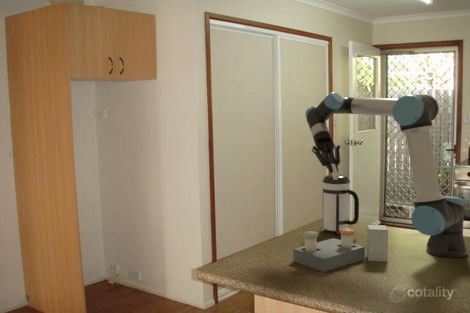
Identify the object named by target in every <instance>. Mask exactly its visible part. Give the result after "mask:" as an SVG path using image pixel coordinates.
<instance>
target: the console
mask: <svg viewBox="0 0 470 313" xmlns="http://www.w3.org/2000/svg"><path fill="white" fill-rule="evenodd" d="M365 250H366V248H365V246H363V245H359V244H356V243H353V248H351V249H345V248H342V247H341V239H337V238H334V237H333V238H329V239H325V240H321V241H317V251H316V252H312V253H310V252H307V251H305V245H301V246H299V247H296V248H293V251H292V252H293V253H292V254H293V256H292V258H293V260H292V261H293V262H294V263H297V264H300V265H304V266H306V267H308V268H311V269H314V270H316V271H320V272H322V273H326V272H328V271H329V272H330V271H332V270H336V269H338V268H341V267H344V266H347V265H351V264H354V263H357V262H361V261H363V260H365V252H366V251H365Z"/></svg>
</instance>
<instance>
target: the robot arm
mask: <svg viewBox="0 0 470 313" xmlns="http://www.w3.org/2000/svg"><path fill="white" fill-rule="evenodd" d="M439 109H440V107H439V104H438V100H436V99H435V98H434V97H433V96H431V95H429V94H415V93H414V94H413V93H410V94H406V95H402V96H400V97H399V98H384V97H382V98H380V97H379V98H377V97H351V96H345V97H343V96H341V95H340V94H339V93H338V92H337V93H336V92H335V91H332V92H330V93H329V94H327V95H326V96H325V98H323V100H322V101H321V102H320V103H319V104H318V105H317V106H315V105H313V106H311V107H309V108H308V109H306V111H305V119H306V122H307V124H308V127H309V129H310V133H311V136H312V138H313V141H314V144H315V145H313V146H312V147H311V148H312V149H311V152H312V153H313V154H314V155H315V156H316V158H317V159H318V161H319V163H320V164H321V166H322V167H326V169H327V170H328V172H329V173H330V174H332V176H333V179H334V180H337V179H338V177H339V172H338V171H340V170H339V165H340V163H341V156H340V149H341V146H340V145H335V143H334V142H333V140H332V137H331V136H332V135H331V134H330V132H329V128H328V126H327V123H326V121H328V120H329V119H330V118H331V117H332V116H333V115H337V114H339V115H340V114H341V115H342V114H344V115H346V114H348V115H365V116H368V115H369V116H382V117H393V120H394V121H395V122H396V123H397V124H398V125H399V128H400V133H402V134H403V135H404V136H405V139H406V145H407V150H408V156H409V162H410V167H411V170H412V171H411V172H412V179H413V183H414V188H415V190H414V191H415V194H416V196H415V197H414V199H413V200H412V201H413V207H414V209H413V211H412V213H411V218H410V219H411V223H412V225H413V228H414V229H415V230H416V231H417V232H419V233H420V234H422V235H425V236H429V238H428V240H427V243H426V252H427V253H428V254H431V255H434V256H437V257H441V258H442V257H443V258H450V259H452V258H456V259H457V258H464V257H466V256H467V255H468V247H467V244H466V241H465V237H464V218H465V217H464V215H465V200H464V199H463V198H461V197H458V196H452V195H451V196H450V195H443V194H442V193H441V190H440V185H439V184H440V183H439V179H438V173H437V168H436V163H435V162H436V161H435V157H434V151H433V150H434V149H433V145H432V140H431V134H430V130H431V129H432V128H433V123H432V122H433V121H434V120H435V119H436V118H437V116H438V115H439V111H440V110H439ZM333 151H334V152H333Z"/></svg>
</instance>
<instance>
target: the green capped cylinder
mask: <svg viewBox="0 0 470 313" xmlns="http://www.w3.org/2000/svg"><path fill="white" fill-rule="evenodd" d="M302 235H303V237H304V246H305V251H307V252H310V253H312V252H316V251H317V242H318V241H317V240H318V238H319V232H318V231H315V230H313V231H312V230H310V231H309V230H308V231H304V232H303V234H302Z"/></svg>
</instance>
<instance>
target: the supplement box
mask: <svg viewBox="0 0 470 313" xmlns="http://www.w3.org/2000/svg"><path fill="white" fill-rule="evenodd" d="M366 226H367V228H366V229H367V230H366V231H367V232H366V257H367V261H369V262H370V261H371V262H386V263H387V262H388V258H389V257H388V249H389V247H388V246H389V245H388V244H389V243H388V242H389V229H388V227H387V225H382V224H379V225H378V224H367V225H366Z"/></svg>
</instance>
